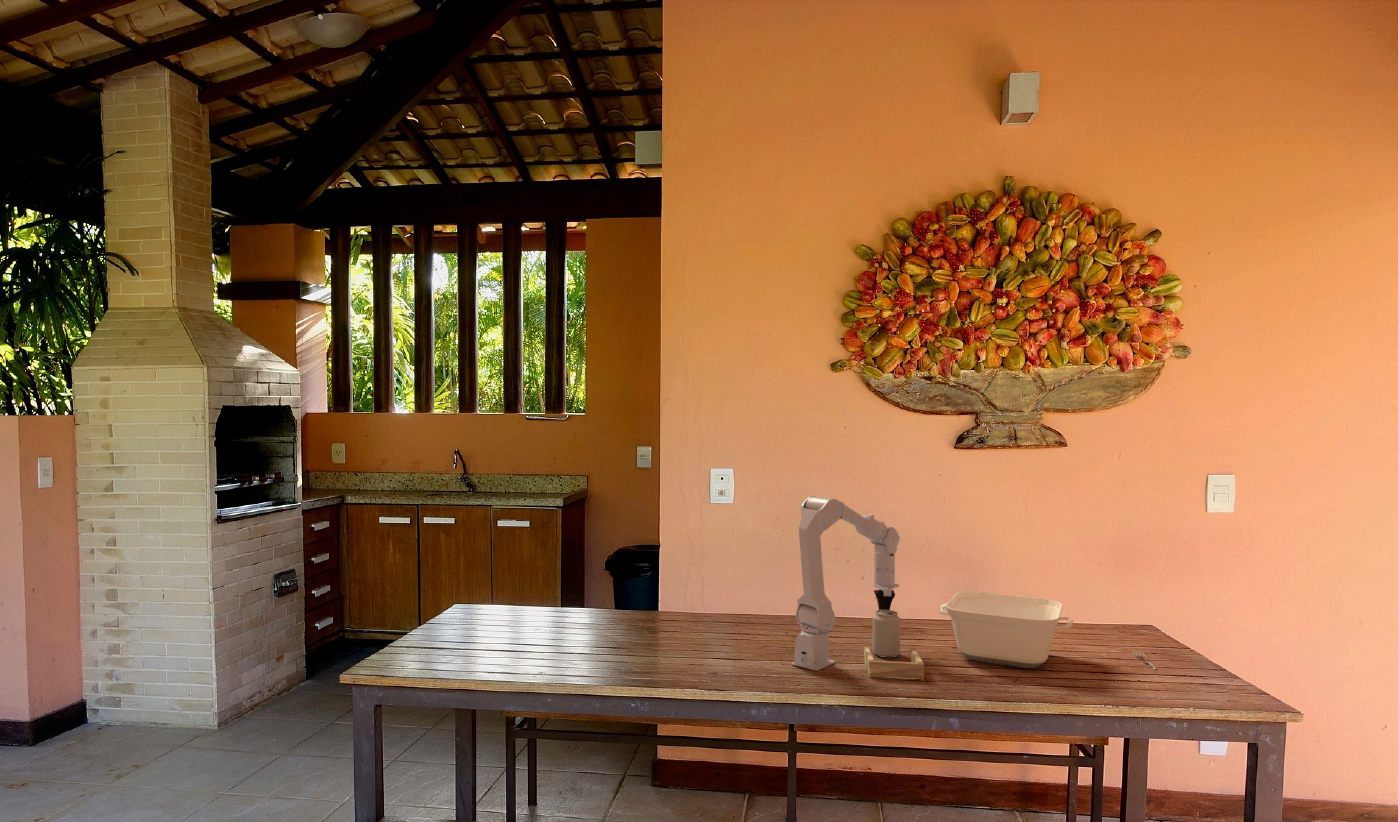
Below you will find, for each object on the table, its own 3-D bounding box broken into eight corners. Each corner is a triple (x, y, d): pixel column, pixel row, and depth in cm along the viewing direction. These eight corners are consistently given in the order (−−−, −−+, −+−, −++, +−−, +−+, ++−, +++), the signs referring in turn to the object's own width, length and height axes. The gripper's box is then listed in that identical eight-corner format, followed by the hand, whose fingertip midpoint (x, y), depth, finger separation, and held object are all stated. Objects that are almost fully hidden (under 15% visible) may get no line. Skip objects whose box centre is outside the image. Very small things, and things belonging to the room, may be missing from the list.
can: (902, 659, 212) (903, 615, 213) (875, 658, 213) (875, 614, 213) (896, 651, 220) (896, 608, 220) (869, 650, 220) (870, 608, 220)
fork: (1163, 684, 196) (1163, 676, 196) (1130, 656, 219) (1130, 649, 219) (1177, 685, 195) (1177, 677, 195) (1143, 656, 219) (1143, 650, 219)
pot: (930, 662, 210) (930, 607, 210) (949, 637, 236) (949, 588, 236) (1070, 683, 194) (1070, 623, 195) (1074, 653, 220) (1075, 601, 220)
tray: (924, 680, 195) (924, 664, 195) (869, 677, 196) (869, 661, 196) (914, 663, 209) (914, 648, 209) (863, 661, 210) (864, 646, 210)
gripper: (902, 573, 214) (902, 623, 214) (895, 564, 228) (894, 610, 228) (876, 572, 215) (876, 622, 215) (870, 563, 229) (870, 609, 229)
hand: (884, 616), depth 221 cm, fingers closed
